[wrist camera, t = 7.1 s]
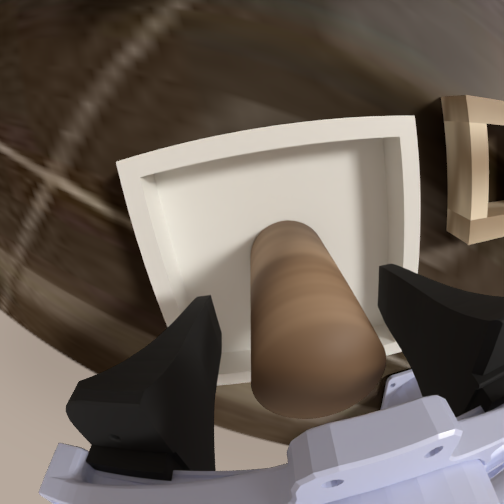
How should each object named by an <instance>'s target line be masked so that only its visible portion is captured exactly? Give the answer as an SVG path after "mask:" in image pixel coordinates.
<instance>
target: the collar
mask: <svg viewBox="0 0 504 504" xmlns="http://www.w3.org/2000/svg"><path fill="white" fill-rule="evenodd" d="M441 102H442V110H443V118H444V127H445V138H446V152H447V177H448V204H447V229H446V231H448V232H449V233H451V234H452V235H454V236H456V237H457V238H459V239H460V240H462V241H463V242H465V243H466V244H468V245H470V244H474V243H479V242H483V241H487V240H491V239H496V238H500V237H504V201H496V202H489V203H488V191H489V155H488V136H487V124H495V125H504V101H500V100H494V99H488V98H482V97H476V96H468V95H460V96H445V97H441Z"/></svg>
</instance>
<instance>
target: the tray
mask: <svg viewBox="0 0 504 504" xmlns="http://www.w3.org/2000/svg"><path fill="white" fill-rule="evenodd" d="M116 164H117V169H118V173H119V177H120V181H121V185H122V189H123V193H124V197H125V200H126V204H127V208H128V211H129V215H130V219H131V222H132V225H133V229H134V232H135V236H136V239H137V242H138V245H139V248H140V252H141V255H142V258H143V261H144V264H145V267H146V270H147V273H148V276H149V279H150V282H151V284H152V287H153V290H154V293H155V296H156V298H157V301H158V304H159V306H160V309H161V312H162V314H163V317H164V320H165V322H166V325H167V327H169V326H170V325H171V324H172V323H173V322H174V321H175V320H176V319H177V317H178V316H179V315H180V314H181V313H182V312H183V311H184V310H185V309H186V308H187V307H188V305H189V304H190V303H191V302H192V301H193V300H194V299H195V298H196V297H199V296H206V295H211V298H212V301H213V305H214V308H215V312H216V315H217V319H218V322H219V325H220V329H221V332H222V354H221V360H220V367H219V373H218V380H217V385H227V384H237V383H246V382H251V303H250V253H251V247H252V245H253V242H254V240H255V238H256V237H257V236H258V234H259V233H260V232H261V231H262V230H263V229H265V228H266V227H268V226H269V225H271V224H273V223H276V222H279V221H286V220H291V221H298V222H301V223H304V224H306V225H308V226H309V227H311V228H312V229H313V230H314V231H315V232H316V233H317V235H318V236H319V238H320V239H321V241H322V242H323V244H324V246H325V247H326V249H327V250H328V252H329V254H330V255H331V257H332V258H333V260H334V262H335V263H336V265H337V266H338V268H339V270H340V271H341V273H342V275H343V276H344V278H345V280H346V281H347V283H348V285H349V286H350V288H351V290H352V291H353V293H354V295H355V297H356V298H357V300H358V302H359V303H360V305H361V307H362V309H363V310H364V312H365V314H366V316H367V317H368V319H369V321H370V323H371V325H372V326H373V328H374V330H375V332H376V334H377V335H378V337H379V339H380V341H381V343H382V345H383V347H384V349H385V353H386V356H387V355H391V354H394V353H398V352H401V351H402V350H401V349H400V347H399V345H398V344H397V342H396V340H395V339H394V337H393V336H392V334H391V332H390V331H389V329H388V327H387V326H386V324H385V322H384V320H383V318H382V315H381V313H380V311H379V308H378V284H379V266H381V265H386V264H395V265H398V266H401V267H403V268H405V269H408V270H410V271H412V272H415V273H417V274H418V262H419V246H420V170H419V154H418V142H417V132H416V123H415V116H372V117H353V118H339V119H327V120H317V121H307V122H299V123H291V124H283V125H276V126H269V127H263V128H257V129H251V130H245V131H239V132H234V133H229V134H223V135H218V136H214V137H209V138H204V139H200V140H195V141H191V142H187V143H182V144H178V145H174V146H170V147H166V148H163V149H159V150H155V151H151V152H148V153H144V154H141V155H137V156H134V157H130V158H127V159H124V160H121V161H117V162H116Z"/></svg>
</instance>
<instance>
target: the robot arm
mask: <svg viewBox="0 0 504 504" xmlns="http://www.w3.org/2000/svg"><path fill="white" fill-rule="evenodd" d="M378 308H379V311H380V313H381V315H382V318H383V320H384V322H385V324H386V326H387V327H388V329H389V331H390V332H391V334H392V336H393V337H394V339H395V340H396V342H397V344H398V345H399V347H400V349H401V350H402V352H403V354H404V355H405V357H406V359H407V360H408V362H409V364H410V366H411V369H410V370H407V371H404V372H401V373H397V374H394V375H391V376H390V377H388V379H387V381H386V386H385V391H384V396H383V401H382V405H381V409H380V410H379V411H375V412H372V413H368V414H364V415H360V416H356V417H352V418H348V419H344V420H339V421H335V422H330V423H326V424H323V425H320V426H317V427H314V428H311V429H308V430H307V431H305V432H304V433H302V434H301V435H299V436H298V437H296V438H295V439H293V440H292V441H291V443H290V445H289V448H288V450H287V457H288V463H287V464H283V465H279V466H276V467H271V468H265V469H252V470H236V471H215V453H214V402H215V393H216V386H217V380H218V373H219V367H220V360H221V354H222V332H221V329H220V325H219V322H218V319H217V315H216V312H215V308H214V305H213V301H212V298H211V295H206V296H199V297H196V298H195V299H194V300H193V301H192V302H191V303H190V304H189V305H188V307H187V308H186V309H185V310H184V311H183V312H182V313H181V314H180V315H179V316H178V317H177V319H176V320H175V321H174V322H173V323H172V324H171V325H170V326H169V327H168V328H167V329H166V330H165V331H163V332H162V333H161V334H160V335H159V336H158V337H157V338H156V339H155V340H153V341H152V342H151V343H150V344H148V345H147V346H146V347H145V348H143V349H142V350H141V351H139V352H137V353H136V354H134V355H133V356H131V357H130V358H128V359H127V360H125V361H123V362H122V363H120V364H118V365H116V366H114V367H112V368H110V369H108V370H106V371H104V372H102V373H100V374H97V375H94V376H92V377H89V378H87V379H84V380H81V381H79V382H78V384H77V386H76V388H75V390H74V392H73V394H72V396H71V397H70V400H69V401H68V403H67V405H66V413H67V415H68V417H69V419H70V421H71V422H72V423H73V425H74V426H75V427H76V428H77V429H78V430H79V432H80V433H81V434H82V435H83V436H84V437H85V438H86V439H87V440H88V441H89V442H90V443H91V444H92V446H91V448H90V451H87V450H85V449H83V448H80V447H77V446H72V445H67V444H63V443H58V446H57V448H56V450H55V453H54V455H53V458H52V460H51V462H50V465H49V467H48V469H47V472H46V474H45V477H44V480H43V482H42V485H41V487H40V490H39V494H40V495H41V496H42V497H44V498H45V499H47V500H48V501H50V502H51V503H53V504H504V297H498V296H489V295H483V294H477V293H472V292H468V291H464V290H460V289H457V288H453V287H450V286H447V285H444V284H442V283H439V282H436V281H434V280H431V279H429V278H426V277H424V276H422V275H419V274H417V273H415V272H412V271H410V270H408V269H405V268H403V267H401V266H398V265H395V264H386V265H381V266H379V284H378Z"/></svg>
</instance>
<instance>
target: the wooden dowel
mask: <svg viewBox="0 0 504 504" xmlns="http://www.w3.org/2000/svg"><path fill="white" fill-rule="evenodd" d="M250 303H251V388H252V391H253V394H254V396H255V398H256V399H257V401H258V402H259V403H260V404H261V405H262V406H263V407H265V408H266V409H268V410H269V411H271V412H273V413H275V414H278V415H281V416H284V417H289V418H296V419H312V418H320V417H325V416H329V415H332V414H336V413H338V412H341V411H343V410H345V409H348V408H350V407H351V406H353V405H355V404H356V403H358V402H359V401H361V400H362V399H363V398H365V397H366V396H367V395H368V394H369V393H370V392H371V391H372V390H373V389H374V388H375V387H376V385H377V384H378V382H379V381H380V379H381V377H382V375H383V373H384V370H385V366H386V353H385V349H384V347H383V345H382V343H381V341H380V339H379V337H378V335H377V334H376V332H375V330H374V328H373V326H372V325H371V323H370V321H369V319H368V317H367V316H366V314H365V312H364V310H363V309H362V307H361V305H360V303H359V302H358V300H357V298H356V297H355V295H354V293H353V291H352V290H351V288H350V286H349V285H348V283H347V281H346V280H345V278H344V276H343V275H342V273H341V271H340V270H339V268H338V266H337V265H336V263H335V262H334V260H333V258H332V257H331V255H330V254H329V252H328V250H327V249H326V247H325V246H324V244H323V242H322V241H321V239H320V238H319V236H318V235H317V233H316V232H315V231H314V230H313V229H312V228H311V227H309V226H308V225H306V224H304V223H301V222H298V221H291V220H286V221H279V222H276V223H273V224H271V225H269V226H268V227H266V228H265V229H263V230H262V231H261V232H260V233H259V234H258V236H257V237H256V238H255V240H254V242H253V245H252V247H251V253H250Z"/></svg>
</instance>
